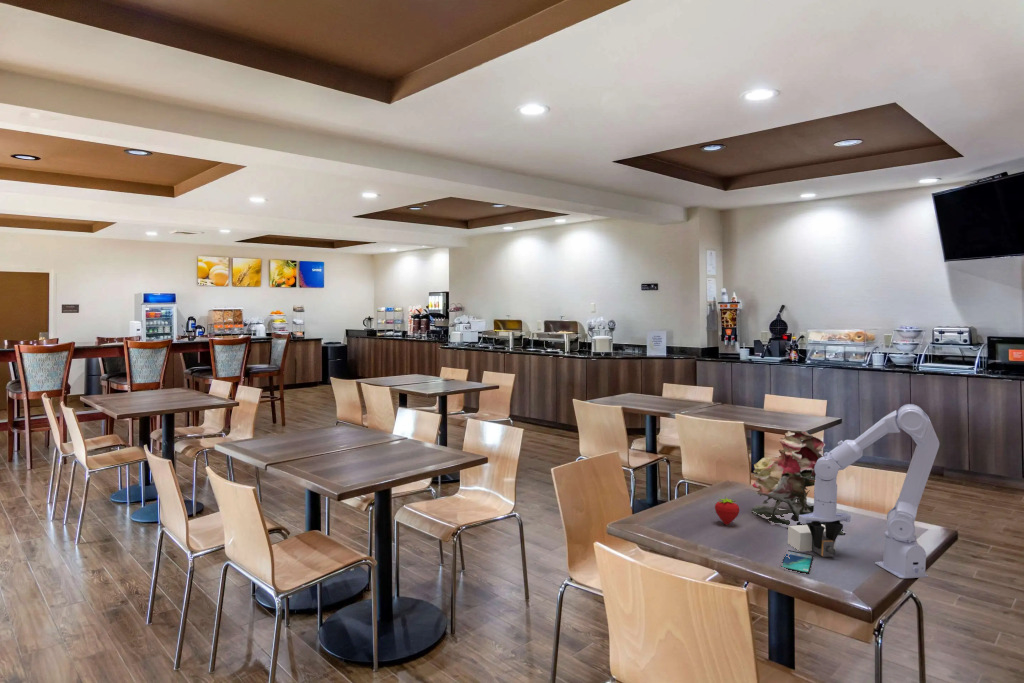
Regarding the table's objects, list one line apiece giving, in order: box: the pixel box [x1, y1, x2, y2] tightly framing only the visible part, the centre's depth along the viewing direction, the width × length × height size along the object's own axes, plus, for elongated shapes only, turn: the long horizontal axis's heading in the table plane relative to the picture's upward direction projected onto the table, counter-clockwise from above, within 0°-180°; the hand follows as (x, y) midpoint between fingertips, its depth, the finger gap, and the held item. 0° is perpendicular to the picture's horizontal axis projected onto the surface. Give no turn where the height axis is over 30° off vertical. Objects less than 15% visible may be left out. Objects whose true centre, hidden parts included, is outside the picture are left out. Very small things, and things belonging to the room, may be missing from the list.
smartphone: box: [780, 549, 815, 575], centre depth 167 cm, size 7×1×15 cm
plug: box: [812, 535, 836, 558], centre depth 172 cm, size 9×3×4 cm, turn 7°
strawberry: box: [714, 496, 740, 526], centre depth 195 cm, size 6×8×10 cm
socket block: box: [787, 523, 837, 552], centre depth 177 cm, size 6×11×6 cm, turn 97°
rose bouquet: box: [751, 429, 845, 536], centre depth 200 cm, size 26×29×30 cm
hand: (823, 547), depth 172 cm, fingers closed on plug, 3 cm apart
